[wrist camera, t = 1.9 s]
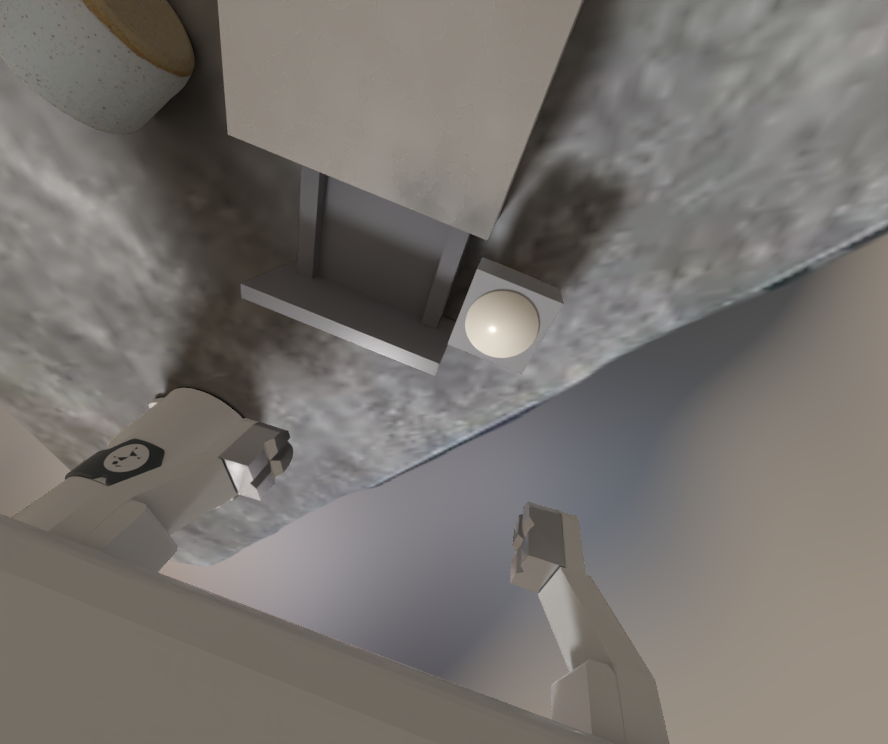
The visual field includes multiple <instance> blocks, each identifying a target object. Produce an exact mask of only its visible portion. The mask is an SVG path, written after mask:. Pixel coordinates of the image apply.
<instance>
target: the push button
mask: <svg viewBox="0 0 888 744" xmlns="http://www.w3.org/2000/svg"><path fill="white" fill-rule="evenodd" d="M563 305H564V303H563V299H562V295H561V292H560V289H559V288H557V287H554V286H552V285H549V284H547V283H544V282H542V281H539V280H537V279H535V278H532V277H530V276H527V275H525V274H522V273H520V272H517V271H515V270H513V269H510V268H508V267H505V266H503V265H500V264H498V263H495V262H493V261H490V260H488V259H486V258H483V257H482V259H481V261H480V263H479V265H478V268H477V270H476V273H475V275H474V278H473V280H472V283H471V285H470V288H469V290H468V293H467V296H466V298H465V301H464V303H463V306H462V308H461V311H460V313H459V316H458V318H457V321H456V324H455V326H454V329H453V331H452V334H451V336H450V339H449V341H448V345H450V346H453V347H455V348H458V349H460V350H463V351H465V352H468V353H470V354H473V355H475V356H478V357H480V358H483V359H485V360H487V361H490V362H492V363H495V364H497V365H500V366H502V367H505V368H507V369H510V370H512V371H515V372H517V373H520V374H522V372H523V371H524V369H525V367H526V366H527V364H528V363H529V361H530V359H531V358H532V356H533V354H534V353H535V351H536V349H537V348H538V346H539V344H540V343H541V341H542V339H543V338H544V336H545V334H546V333H547V331H548V330H549V328H550V326H551V325H552V323H553V321H554V320H555V318H556V316H557V315H558V313H559V311H560V310H561V308H562V306H563Z"/></svg>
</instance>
